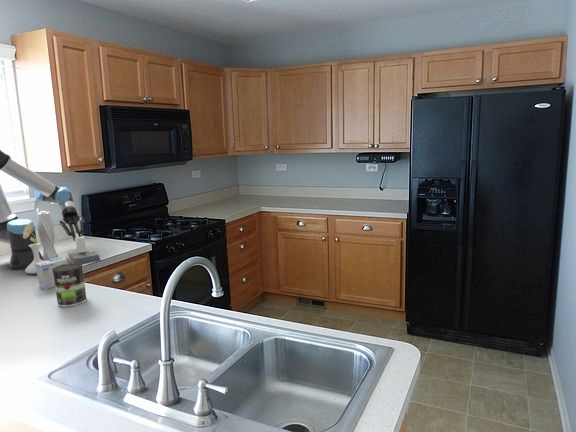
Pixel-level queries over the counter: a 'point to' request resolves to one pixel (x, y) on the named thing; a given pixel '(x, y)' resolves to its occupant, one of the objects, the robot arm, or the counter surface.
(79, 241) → the white cylinder
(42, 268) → the light bulb box
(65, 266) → the coffee can
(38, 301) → the counter surface
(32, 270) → the flower in vase
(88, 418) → the counter surface
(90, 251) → the switch box
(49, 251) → the skyscraper
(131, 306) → the counter surface
